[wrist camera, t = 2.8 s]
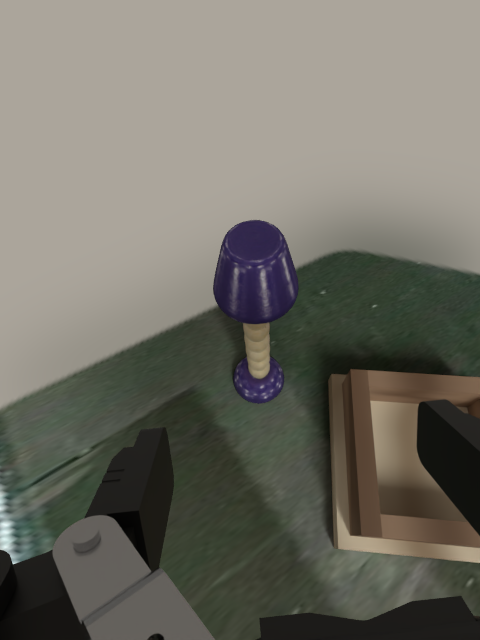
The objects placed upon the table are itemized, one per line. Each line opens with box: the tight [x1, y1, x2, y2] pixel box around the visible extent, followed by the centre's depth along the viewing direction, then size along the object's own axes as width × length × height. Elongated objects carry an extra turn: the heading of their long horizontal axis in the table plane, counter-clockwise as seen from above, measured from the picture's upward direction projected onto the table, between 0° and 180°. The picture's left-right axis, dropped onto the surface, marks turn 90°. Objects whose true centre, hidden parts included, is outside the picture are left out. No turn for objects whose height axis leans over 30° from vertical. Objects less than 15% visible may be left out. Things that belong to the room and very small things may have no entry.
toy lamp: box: [213, 220, 298, 403], centre depth 25 cm, size 5×5×17 cm
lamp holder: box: [328, 369, 480, 563], centre depth 26 cm, size 12×12×4 cm
